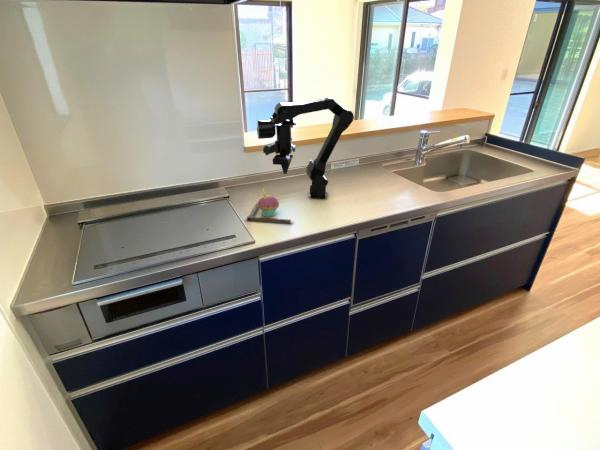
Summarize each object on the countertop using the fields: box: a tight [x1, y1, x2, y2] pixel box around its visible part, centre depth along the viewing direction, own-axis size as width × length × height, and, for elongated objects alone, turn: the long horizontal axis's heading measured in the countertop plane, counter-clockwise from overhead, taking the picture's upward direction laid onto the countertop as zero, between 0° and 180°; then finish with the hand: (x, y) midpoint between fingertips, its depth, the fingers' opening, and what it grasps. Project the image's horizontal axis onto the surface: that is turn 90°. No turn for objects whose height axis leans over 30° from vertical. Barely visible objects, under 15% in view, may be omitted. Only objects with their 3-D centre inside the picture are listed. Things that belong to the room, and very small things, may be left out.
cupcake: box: [257, 186, 280, 218], centre depth 135 cm, size 9×8×12 cm
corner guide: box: [246, 202, 292, 225], centre depth 137 cm, size 17×13×2 cm
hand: (285, 173), depth 144 cm, fingers closed
